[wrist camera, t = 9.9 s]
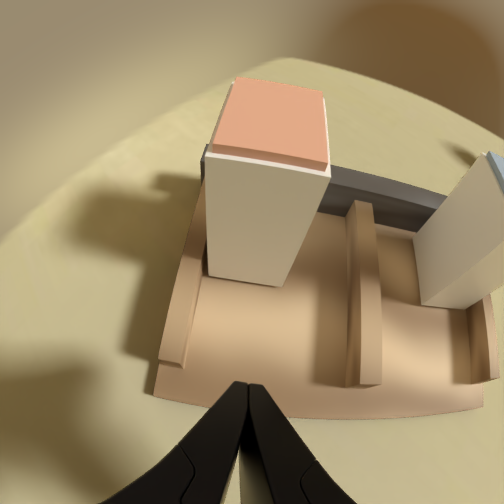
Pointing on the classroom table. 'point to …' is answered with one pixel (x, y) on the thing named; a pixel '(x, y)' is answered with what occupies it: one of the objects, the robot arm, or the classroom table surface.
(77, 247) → the classroom table surface
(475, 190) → the blue-topped cream block
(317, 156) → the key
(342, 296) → the wooden divided tray
